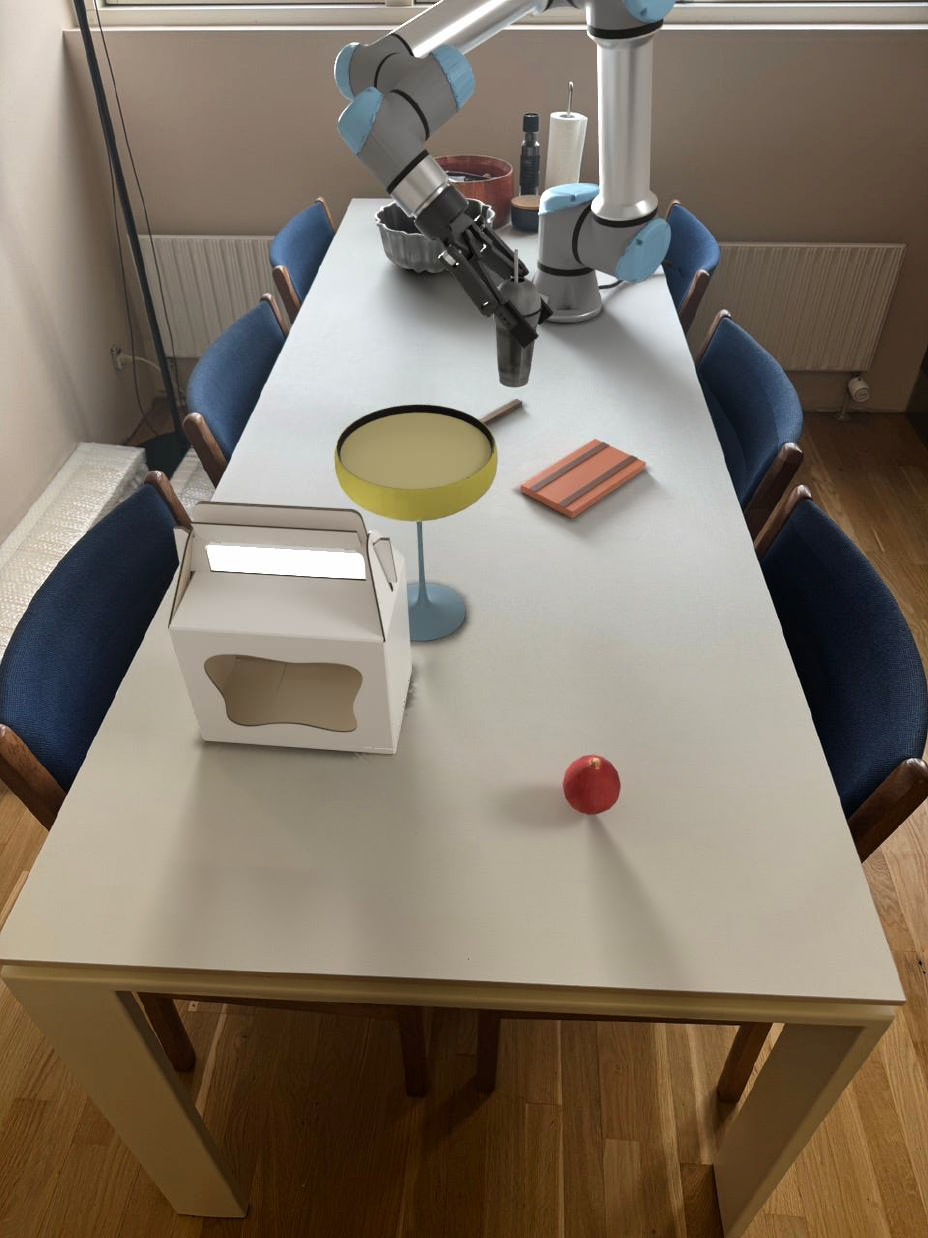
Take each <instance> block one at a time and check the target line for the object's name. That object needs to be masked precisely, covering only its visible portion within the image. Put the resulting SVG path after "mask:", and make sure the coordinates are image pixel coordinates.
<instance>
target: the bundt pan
mask: <svg viewBox="0 0 928 1238" xmlns="http://www.w3.org/2000/svg"><path fill="white" fill-rule="evenodd" d="M465 198H466V199H467V200H468V202H469V206H468V207H467V208H466V209H465V210H464V212H465V214H466V215H468V216H469V217H470V218H471V219H472V220H473V221H474V220H476V219H477V218H478V217H479V216H480V215H482V216H483V217H484V218H485V219H486V221H487V222H488V224H489V225H490V227H491V228H492V229H493V224H494V223H493V222H494V220H495V219H496V212H495V211H494V210H492V205H488V204H485V203H484V202H483V201H481V200H479V199H475V198H467V197H465ZM374 220H375V221H376V222H375V224H376V227H378V230H379V234H380V238H381V242H382V248H383V251H384V254H385V257H387V259H388V260H390V262H392V263H394V264H396V265H398V266H399V267H401V268H403V269H407V270H414V272H415V273H417V274H419V273H423V272H424V271H426V272H428V273H432V274H436V273H440V272H443V271H446V272H447V273H451V272H450V271H449V270H448V269H447V268H446V267H445V266H444V265H443V264H442V263H441V262H440V261H439V256H441V255H442V254H443V253H444V251H445V249H444V247H443V245H442V243H441V242H440V240H439V239H438V238H436V239H435V240H434V241H433V242H430V241H428V240H427V239H426V238H425V236H424V235H423V234H422V233H421V232H420V230H419V229H418V228H417V227H416V226H415V225H414V224H415V222H414V221H415V220H416V218H415V217H414V216H412V217H408V216H407V214H406V213H405V212H404V211H403V210H402V209H401V207H398V206H397V205H396V201H395V200H394V201H393V202H390V203H389V204H388V205H385V206H381V207H380V209H379V211H377V212H376V213H375V214H374Z"/></svg>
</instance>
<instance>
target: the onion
mask: <svg viewBox="0 0 928 1238" xmlns="http://www.w3.org/2000/svg"><path fill="white" fill-rule="evenodd" d="M621 786H622V784H621V779H620V775H619V772H618V770H617V769H616V767H615V766H614V765H613V763H612V762H611V761H609V760H608V759H606V758H605V757H604V756H601V755H597V754H586V755H582V756H580V757H579V758H577V759H575V760H574V761H572V762H571V763H570V764H569V766H568V767H567V768H566V770H565V771H564V776H563V780H562V790H563V795H564V798H565V800H566V801H567V803H568V804H569V805H570V806H571V807H572V809H574V810H575V811H577V812H579V813H581V814H584V815H588V816H593V815H599V814H601V813H605V812H606V811H608V810H610V809H611V808H612V807H613V806H615V804H616V803H617V802H618V800H619V797H620V793H621V788H622V787H621Z"/></svg>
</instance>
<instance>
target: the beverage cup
mask: <svg viewBox="0 0 928 1238" xmlns="http://www.w3.org/2000/svg"><path fill="white" fill-rule="evenodd" d="M513 252H514V277H512V278H509V279H507V280H505V281H504V280H503V282H501V283H500V284H499V285H498V286H497V288H498V290H499V291H500V293H501V295H502V297H503V298H504V300H505V302H507V301H508V300H510V302H511V303H512V304H513V305H514V306H515V308H516V309H517V310H518V311H519V312H520V314H521V315H522V316H523V317H524V318H525V320H526V321H527V322H528V323H529V324H530V326H531V327H532V328H533V329H534V330H535V332H536V333H537V328H538V327H537V326H538V320H539V316H540V311H541V309H542V305H541V299H540V295H539V292H538V290H537V288H536V287H535V285H534V284H533V283H532V280H530V279H527V278H526V277H524V278H522V277H518V258H519V250H518V249H514V251H513ZM525 278H526V279H525ZM492 318H493V322H494V332H495V333H494V335H495V349H496V360H497V362H496V364H497V372H498V382H499V384H501V385H502V386H505V387H507V388H521V387H524V386H526V385H528V384H529V381H530V374H531V370H532V364H533V357H534V348H535V343H536V342H535V341H536V340H534V341H533V342H532V343H530V344H529V345H528V346H527V347H525V348H523V347H522V346H521V345H520V344H519V342H518V341H517V340H516V339H515V338H514V337H513V335H512V334H511V333H510V332H509V331H508V329H507V328H506V327H505V326H504V325H503V323H502V322H501V321H500V320H499V319H498V318H497V316H496V315H495V314H494V313H493V314H492Z"/></svg>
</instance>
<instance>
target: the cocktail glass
mask: <svg viewBox="0 0 928 1238" xmlns="http://www.w3.org/2000/svg"><path fill="white" fill-rule="evenodd" d="M478 419H479V418H477V417H475V416H473V415H472V414H469V413H467V412H466V411H463V410H459V409H456V408H453V407H448V406H443V405H436V404H422V403H421V404H419V403H418V404H402V405H396V406H395V405H394V406H389V407H385V408H381V409H379V410H375V411H371V412H369V413H367V414H365V415H363V416H360V417H359V418H358V419H356V420H354V421H353V422H352V423H349V425H348V426H347V427H345V429H343V431H342V432H341V433H340V434H339V437H338V438H337V440H336V444H335V448H334V459H333V460H334V470H335V474H336V478H337V480H338V483H339V486H340V488H341V490H342V491H343V492H344V493H345V495H346V496H347V497H348V499H350V500H351V501H352V502H353V503H354V504H355V505H357V506H359V507H361V508H362V509H364V510H366V511H368V512H371V513H372V514H374V515H377V516H380V517H383V518H387V519H391V520H395V521H401V522H416V534H417V535H416V536H417V554H418V555H417V556H418V558H417V559H418V560H417V561H418V583H415V584H410V585H407V601H408V616H409V632H410V641H415V642H430V641H436V640H438V639H442V638H445V637H448V636H449V635H450V634H453V633H454V632H455V631H457V630H458V628H459V627H461V625H462V623H463V622H464V620H465V617H466V605H465V602H464V601H463V599H462V597H460V595H459V594H458V593H457V592H455V591H453V589H451V588H448V587H446V586H443V585H440V584H437V583H427V582H426V575H425V559H424V539H423V538H424V537H423V522H428V521H434V520H439V519H445V518H447V517H450V516H453V515H456V514H457V513H460V512H462V511H464V510H466V509H468V508H469V507H471V506H472V505H474V504H475V503H477V502H478V501H479V500H480V499H481V498H483V496H486V494H487V492H488V491H489V489H491V487H492V485H493V483H494V480H495V478H496V475H497V471H498V470H497V469H498V461H499V460H498V459H499V455H498V454H499V453H498V447H497V442H496V439H495V436H494V434H493V432H492V431H491V429H490V428H489V427H488V426H487V425H485V424H484V423H482V422H481V421H480V420H478Z"/></svg>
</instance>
